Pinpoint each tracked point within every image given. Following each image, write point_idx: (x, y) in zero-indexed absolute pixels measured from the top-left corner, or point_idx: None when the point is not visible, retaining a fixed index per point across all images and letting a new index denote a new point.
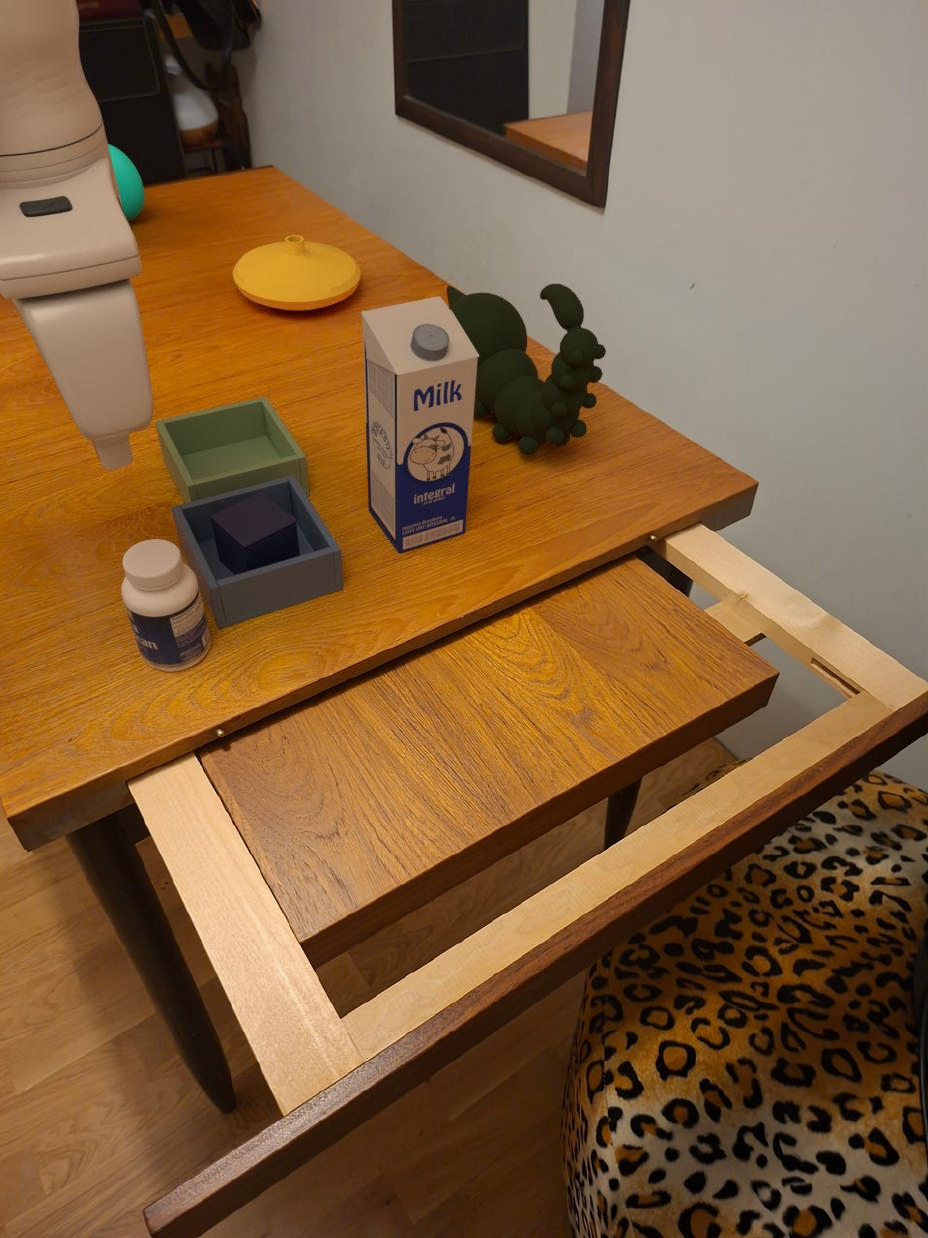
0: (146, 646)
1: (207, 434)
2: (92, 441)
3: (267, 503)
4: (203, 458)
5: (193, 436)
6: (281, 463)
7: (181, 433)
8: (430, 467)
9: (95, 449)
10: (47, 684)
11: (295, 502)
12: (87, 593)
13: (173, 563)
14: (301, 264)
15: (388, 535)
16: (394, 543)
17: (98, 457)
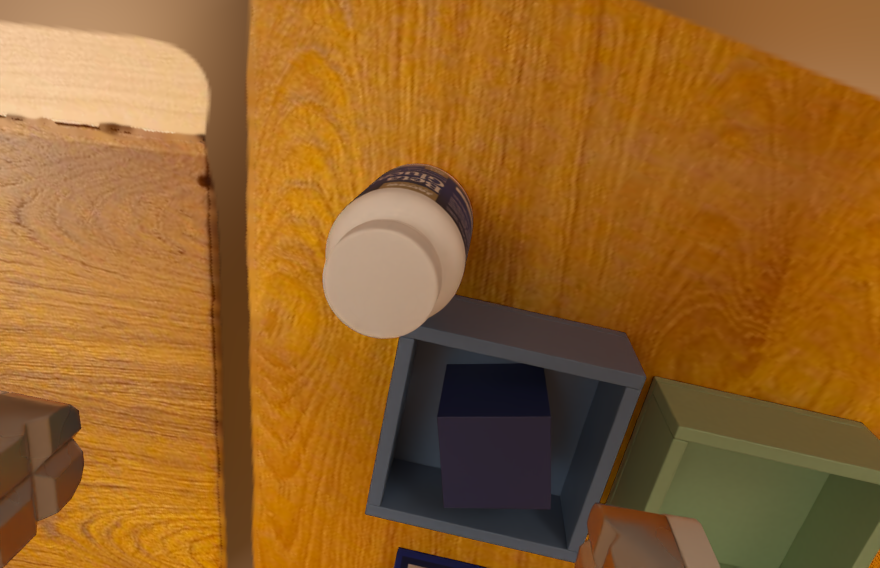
0: (384, 176)
1: (834, 518)
2: (18, 439)
3: (515, 500)
4: (802, 474)
5: (847, 499)
6: None
7: (864, 491)
8: None
9: (8, 420)
10: (472, 7)
11: (540, 522)
12: (632, 157)
13: (339, 310)
14: None
15: (433, 561)
16: (412, 557)
17: (9, 402)
